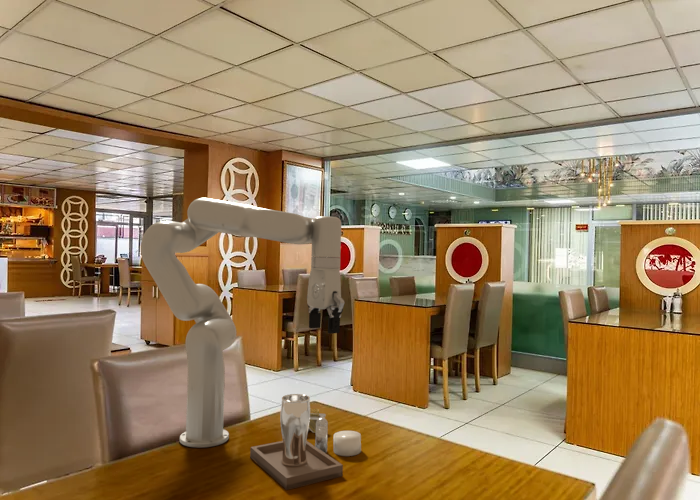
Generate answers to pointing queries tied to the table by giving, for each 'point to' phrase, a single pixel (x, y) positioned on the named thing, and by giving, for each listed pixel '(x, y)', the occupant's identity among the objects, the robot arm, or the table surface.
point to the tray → (293, 477)
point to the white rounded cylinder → (347, 443)
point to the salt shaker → (321, 434)
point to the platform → (314, 420)
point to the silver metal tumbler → (294, 428)
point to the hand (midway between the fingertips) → (323, 330)
